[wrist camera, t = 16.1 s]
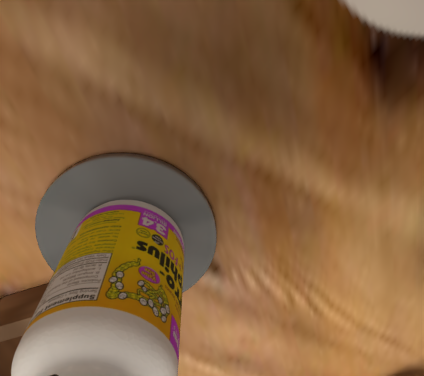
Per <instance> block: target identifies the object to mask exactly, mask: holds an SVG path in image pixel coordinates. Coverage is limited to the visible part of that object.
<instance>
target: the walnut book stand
mask: <svg viewBox="0 0 424 376" xmlns="http://www.w3.org/2000/svg"><path fill="white" fill-rule="evenodd" d="M48 284H49V283H48ZM48 284H44V285H41V286H38V287H34V288H31V289H28V290H24V291H21V292H18V293H14V294H11V295H8V296H4V297H3V298H2V299H0V376H11V367H12V361H13V358H14V354H15V352H16V349H17V347H18V345H19V343H20V341H21V338H22V336H23V334H24V332H25V331H26V329H27V327H28V325H29V323H30V320H31V319H32V317H33V314H34V312H35V310H36V308H37V307H38V305H39V303H40V301H41V299H42V297H43V294H44V292H45V291H46V288H47V286H48Z"/></svg>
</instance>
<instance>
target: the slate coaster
mask: <svg viewBox="0 0 424 376" xmlns="http://www.w3.org/2000/svg"><path fill="white" fill-rule="evenodd" d="M115 200H137V201H142V202H145V203H148V204H151V205H153V206H155V207H157V208H159V209H161V210H162V211H164V212H165V213H166V214H167V215H168V216H170V217H171V218H172V220H173V221H174V222H175V223H176V225H177V226H178V228H179V230H180V231H181V234H182V237H183V241H184V272H183V290H182V293H183V292H184V291H186V290H188V289H189V288H190V287H192V286H193V285H194V284H195V283H196V282H197V281H198V280H199V279H200V278H201V277H202V276H203V275H204V273H205V272H206V270H207V269H208V267H209V265H210V263H211V261H212V259H213V256H214V253H215V248H216V224H215V218H214V214H213V211H212V208H211V205H210V204H209V202H208V200H207V198H206V196H205V195H204V193H203V192H202V190H201V189H200V188H199V187H198V186H197V185H196V183H195V182H194V181H193V180H192V179H190V178H189V177H188V176H187V175H186V174H184V173H183V172H182V171H180V170H178V169H177V168H175V167H174V166H172V165H170V164H168V163H166V162H163V161H161V160H158V159H155V158H152V157H149V156H144V155H140V154H132V153H109V154H103V155H98V156H94V157H91V158H87V159H85V160H83V161H80V162H78V163H76V164H74V165H73V166H71V167H69V168H68V169H66V170H65V171H64V172H63V173H62V174H60V175H59V176H58V177H57V178H56V180H55V181H54V182H53V183H52V184H51V186H50V187H49V189H48V190H47V192H46V193H45V195H44V196H43V198H42V200H41V202H40V205H39V207H38V210H37V215H36V223H35V230H36V238H37V242H38V245H39V248H40V250H41V253H42V255H43V257H44V259H45V260H46V262H47V263H48V265H49V266H50V267H51V269H52V270H53V271H54V272H55V270H56V268H57V266H58V264H59V262H60V260H61V258H62V256H63V254H64V252H65V250H66V248H67V246H68V244H69V242H70V239H71V237H72V235H73V233H74V231H75V230H76V228H77V226H78V225H79V223H80V221H81V220H82V219H83V218H84V217H85V216H86V214H88V213H89V212H90V211H91V210H93V209H94V208H96V207H98V206H100V205H102V204H104V203H107V202H110V201H115Z"/></svg>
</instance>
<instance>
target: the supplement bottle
mask: <svg viewBox="0 0 424 376" xmlns="http://www.w3.org/2000/svg"><path fill="white" fill-rule="evenodd" d="M183 272H184V241H183V237H182V234H181V231H180V230H179V228H178V226H177V225H176V223H175V222H174V221H173V220H172V218H171V217H170V216H168V215H167V214H166V213H165V212H164V211H162V210H161V209H159V208H157V207H155V206H153V205H151V204H148V203H145V202H142V201H137V200H115V201H110V202H107V203H104V204H102V205H100V206H98V207H96V208H94V209H93V210H91V211H90V212H89V213H88V214H86V216H85V217H84V218H83V219H82V220H81V221H80V223H79V225H78V226H77V228H76V230H75V231H74V233H73V235H72V237H71V239H70V242H69V244H68V246H67V248H66V250H65V252H64V254H63V256H62V258H61V260H60V262H59V264H58V266H57V268H56V270H55V272H54V274H53V276H52V278H51V280H50V282H49V284H48V286H47V288H46V291H45V292H44V294H43V297H42V299H41V301H40V303H39V305H38V307H37V308H36V310H35V312H34V314H33V317H32V319H31V320H30V323H29V325H28V327H27V329H26V331H25V332H24V334H23V336H22V338H21V341H20V343H19V345H18V347H17V349H16V352H15V354H14V358H13V361H12V367H11V376H50V375H53V374H57V375H59V376H178V360H179V340H180V323H181V307H182V290H183Z"/></svg>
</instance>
